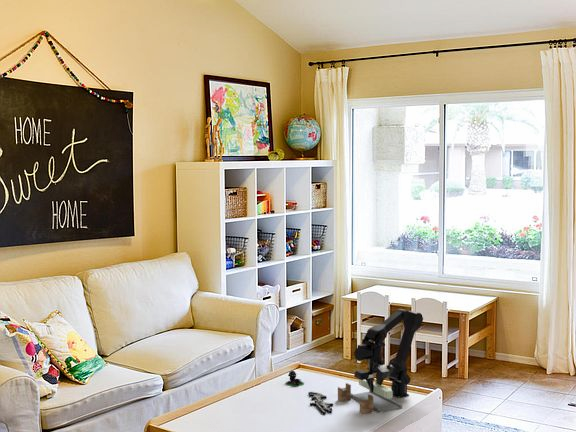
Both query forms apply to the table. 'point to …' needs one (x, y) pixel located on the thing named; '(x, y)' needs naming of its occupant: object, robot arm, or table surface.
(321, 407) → the nameplate
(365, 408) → the hook post
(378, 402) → the track
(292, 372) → the toy figurine
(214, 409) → the table surface
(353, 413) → the table surface
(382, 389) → the rail
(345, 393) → the hook post
